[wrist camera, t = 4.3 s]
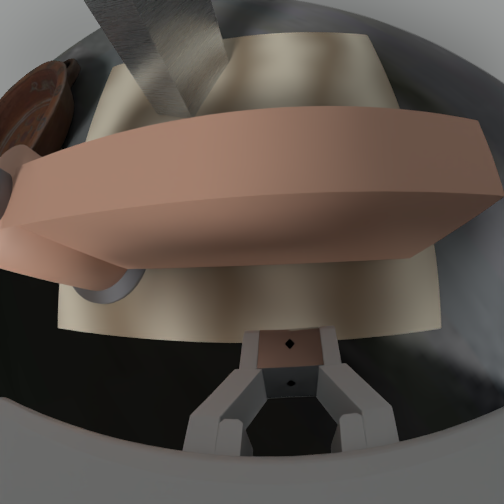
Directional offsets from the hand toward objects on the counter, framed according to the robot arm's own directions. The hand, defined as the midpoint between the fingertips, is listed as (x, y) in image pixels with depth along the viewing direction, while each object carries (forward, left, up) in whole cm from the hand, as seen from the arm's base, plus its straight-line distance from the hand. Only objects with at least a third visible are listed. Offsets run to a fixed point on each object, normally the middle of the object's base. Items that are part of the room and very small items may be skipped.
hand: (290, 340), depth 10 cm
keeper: (+5, -16, -4) cm, 18 cm away
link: (+4, -5, -4) cm, 7 cm away
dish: (+26, -17, -6) cm, 31 cm away
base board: (+3, -11, -6) cm, 13 cm away
